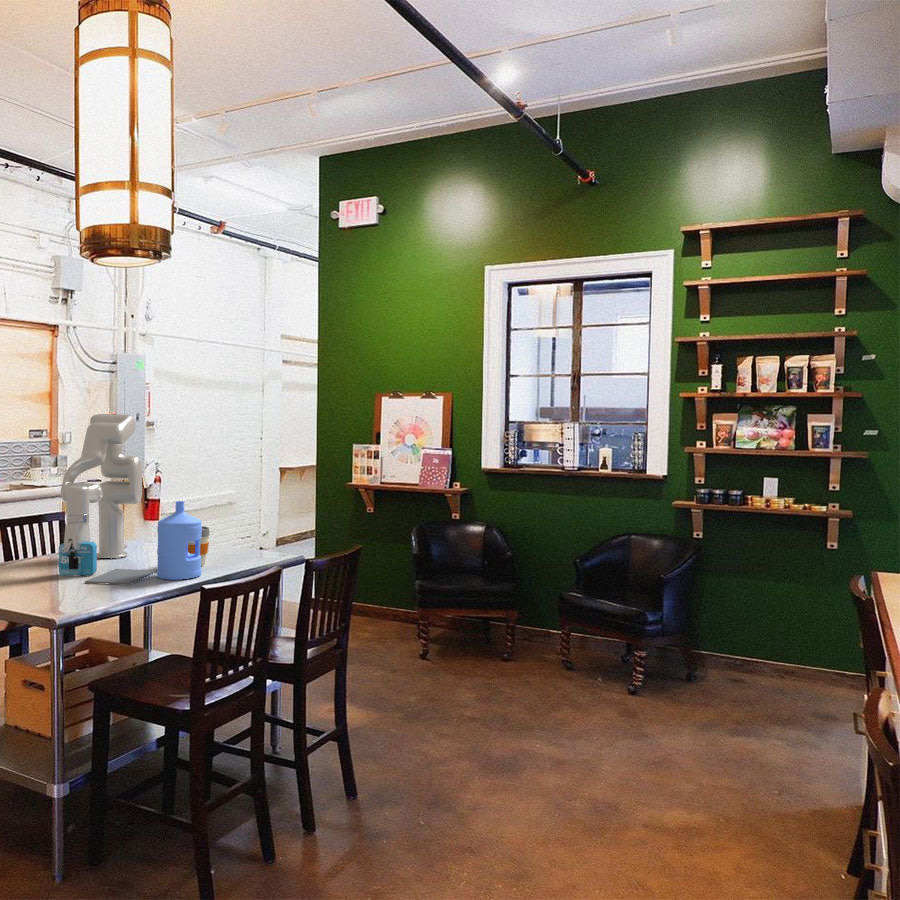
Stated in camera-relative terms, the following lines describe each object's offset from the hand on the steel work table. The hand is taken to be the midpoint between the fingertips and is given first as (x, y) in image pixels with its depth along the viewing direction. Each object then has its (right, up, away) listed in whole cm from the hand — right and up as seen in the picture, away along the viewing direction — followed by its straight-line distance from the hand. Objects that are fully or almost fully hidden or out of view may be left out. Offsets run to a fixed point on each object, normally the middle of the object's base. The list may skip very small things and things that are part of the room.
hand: (77, 566), depth 284 cm
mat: (+18, -4, -3) cm, 18 cm away
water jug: (+37, -4, +2) cm, 37 cm away
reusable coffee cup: (+35, -3, +22) cm, 42 cm away
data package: (0, -3, 0) cm, 3 cm away
